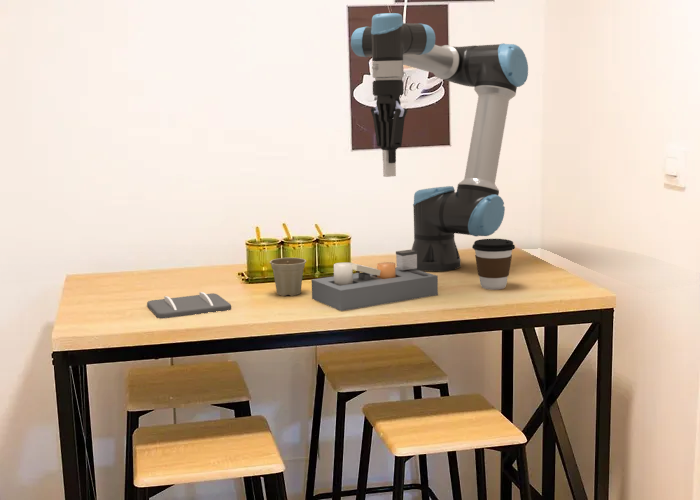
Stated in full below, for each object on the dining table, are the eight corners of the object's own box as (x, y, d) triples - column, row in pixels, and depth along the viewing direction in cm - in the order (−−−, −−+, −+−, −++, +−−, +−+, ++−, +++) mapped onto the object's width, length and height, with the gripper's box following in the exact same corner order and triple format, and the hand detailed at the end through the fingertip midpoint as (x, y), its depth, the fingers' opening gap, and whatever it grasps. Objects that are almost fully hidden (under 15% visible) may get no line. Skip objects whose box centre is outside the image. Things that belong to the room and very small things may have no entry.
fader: (396, 268, 239) (395, 251, 238) (410, 266, 241) (410, 249, 241) (402, 270, 236) (402, 253, 236) (417, 268, 239) (417, 251, 238)
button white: (331, 287, 228) (330, 263, 227) (347, 285, 230) (346, 261, 229) (340, 291, 224) (339, 266, 223) (356, 288, 226) (355, 264, 225)
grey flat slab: (215, 287, 236) (232, 298, 222) (216, 299, 237) (232, 311, 223) (145, 295, 229) (157, 307, 215) (146, 307, 230) (158, 321, 216)
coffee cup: (519, 284, 242) (519, 239, 240) (508, 293, 233) (508, 246, 230) (479, 281, 247) (479, 237, 245) (466, 290, 237) (466, 244, 235)
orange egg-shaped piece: (374, 286, 234) (373, 263, 233) (389, 284, 236) (389, 261, 235) (383, 290, 230) (383, 266, 229) (399, 287, 232) (398, 264, 231)
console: (312, 298, 232) (311, 274, 230) (405, 284, 245) (404, 261, 244) (341, 310, 219) (340, 284, 218) (437, 295, 232) (437, 270, 231)
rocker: (347, 267, 229) (348, 262, 229) (370, 272, 233) (371, 267, 233) (356, 270, 225) (357, 264, 225) (379, 275, 229) (380, 270, 229)
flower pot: (312, 290, 241) (311, 258, 240) (299, 298, 232) (298, 265, 231) (279, 288, 244) (278, 256, 243) (265, 296, 235) (263, 263, 234)
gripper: (360, 79, 227) (363, 175, 231) (389, 79, 215) (390, 179, 220) (386, 79, 230) (388, 173, 234) (415, 78, 219) (416, 177, 223)
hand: (389, 176), depth 227 cm, fingers closed
